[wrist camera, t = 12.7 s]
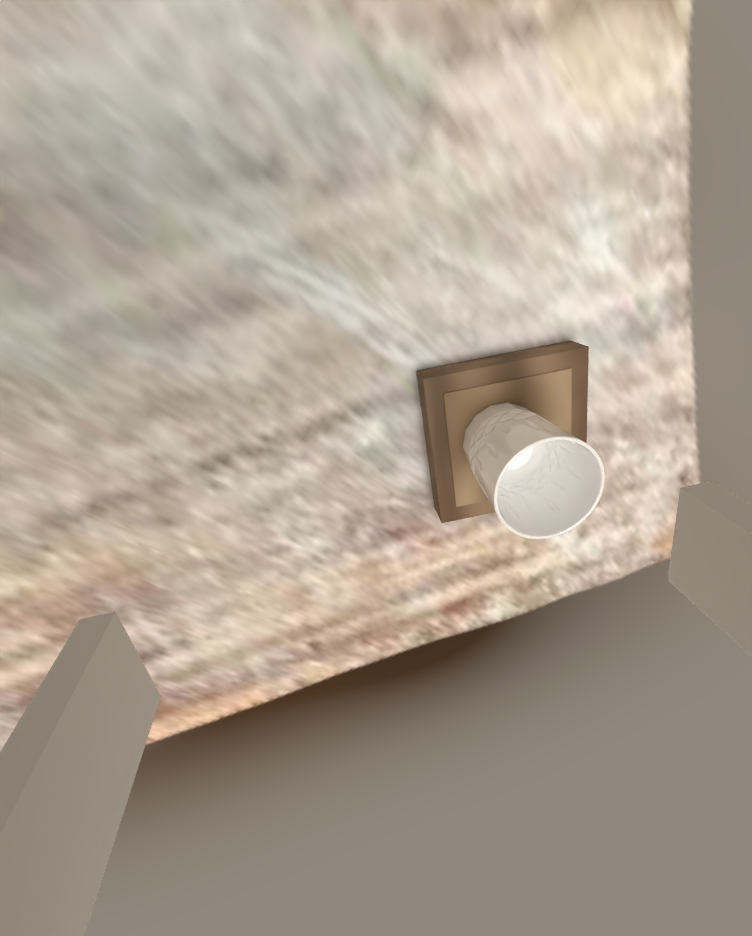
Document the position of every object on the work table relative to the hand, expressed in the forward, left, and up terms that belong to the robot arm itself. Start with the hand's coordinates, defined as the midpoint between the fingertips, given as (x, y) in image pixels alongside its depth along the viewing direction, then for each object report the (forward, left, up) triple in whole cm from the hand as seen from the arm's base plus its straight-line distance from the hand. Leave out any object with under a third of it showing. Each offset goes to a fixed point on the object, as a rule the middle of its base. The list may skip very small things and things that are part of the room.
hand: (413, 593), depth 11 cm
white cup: (+12, -10, -29) cm, 33 cm away
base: (+13, -10, -32) cm, 36 cm away
